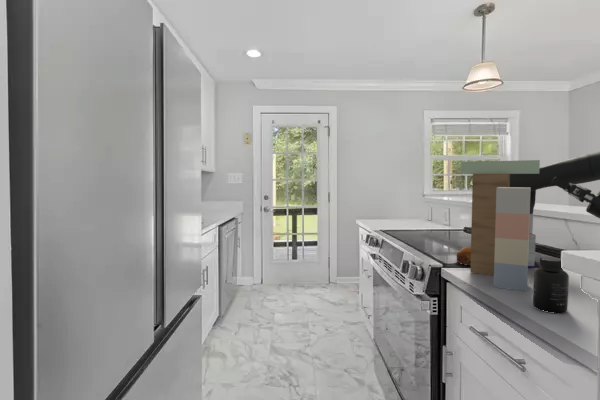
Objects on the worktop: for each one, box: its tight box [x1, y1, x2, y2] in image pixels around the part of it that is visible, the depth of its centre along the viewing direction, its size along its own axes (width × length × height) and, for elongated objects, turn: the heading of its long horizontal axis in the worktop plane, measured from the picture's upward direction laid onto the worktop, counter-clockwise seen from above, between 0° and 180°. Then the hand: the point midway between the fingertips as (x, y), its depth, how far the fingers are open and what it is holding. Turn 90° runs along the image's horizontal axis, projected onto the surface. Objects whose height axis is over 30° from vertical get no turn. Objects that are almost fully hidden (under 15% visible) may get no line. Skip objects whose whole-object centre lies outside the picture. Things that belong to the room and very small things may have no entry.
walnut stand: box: [469, 174, 510, 276], centre depth 123 cm, size 8×10×32 cm
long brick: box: [460, 159, 541, 175], centre depth 121 cm, size 4×22×4 cm, turn 58°
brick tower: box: [493, 187, 531, 292], centre depth 108 cm, size 8×8×28 cm
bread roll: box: [456, 245, 471, 267], centre depth 137 cm, size 10×10×8 cm
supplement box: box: [528, 233, 537, 269], centre depth 133 cm, size 6×6×12 cm
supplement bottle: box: [532, 256, 570, 314], centre depth 89 cm, size 7×7×12 cm
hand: (553, 179), depth 114 cm, fingers open, 8 cm apart
